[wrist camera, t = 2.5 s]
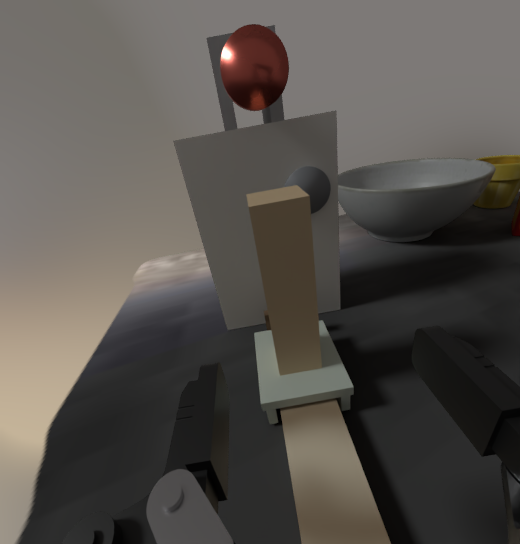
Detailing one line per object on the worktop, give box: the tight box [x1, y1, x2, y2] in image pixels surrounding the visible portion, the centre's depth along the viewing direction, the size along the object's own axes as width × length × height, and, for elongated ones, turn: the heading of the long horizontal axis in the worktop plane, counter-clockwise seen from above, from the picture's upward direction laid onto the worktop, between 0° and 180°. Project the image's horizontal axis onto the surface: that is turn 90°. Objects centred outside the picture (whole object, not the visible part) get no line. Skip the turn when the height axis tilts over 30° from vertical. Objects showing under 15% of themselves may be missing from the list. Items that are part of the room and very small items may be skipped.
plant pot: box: [473, 155, 520, 209], centre depth 58 cm, size 10×10×10 cm
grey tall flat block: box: [174, 25, 340, 330], centre depth 33 cm, size 9×16×31 cm, turn 95°
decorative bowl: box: [338, 158, 496, 242], centre depth 53 cm, size 27×27×12 cm
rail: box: [264, 310, 391, 544], centre depth 23 cm, size 25×5×4 cm, turn 5°
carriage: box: [246, 185, 354, 424], centre depth 23 cm, size 9×8×19 cm
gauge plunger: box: [220, 24, 289, 111], centre depth 22 cm, size 11×4×4 cm, turn 5°
